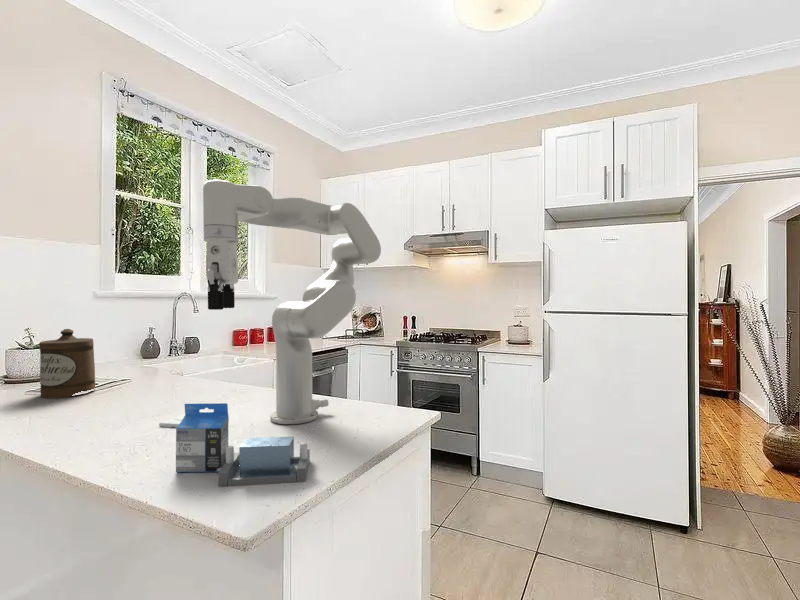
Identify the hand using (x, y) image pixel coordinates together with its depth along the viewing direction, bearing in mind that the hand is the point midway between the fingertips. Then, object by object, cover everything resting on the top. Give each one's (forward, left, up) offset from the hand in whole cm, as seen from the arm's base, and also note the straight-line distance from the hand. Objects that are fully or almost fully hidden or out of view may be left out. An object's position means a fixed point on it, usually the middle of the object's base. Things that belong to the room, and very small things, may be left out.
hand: (221, 308), depth 102 cm
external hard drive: (+2, -20, -31) cm, 37 cm away
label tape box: (+9, +16, -31) cm, 36 cm away
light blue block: (0, +26, -31) cm, 40 cm away
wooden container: (+26, -81, -31) cm, 90 cm away
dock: (0, +26, -30) cm, 40 cm away
